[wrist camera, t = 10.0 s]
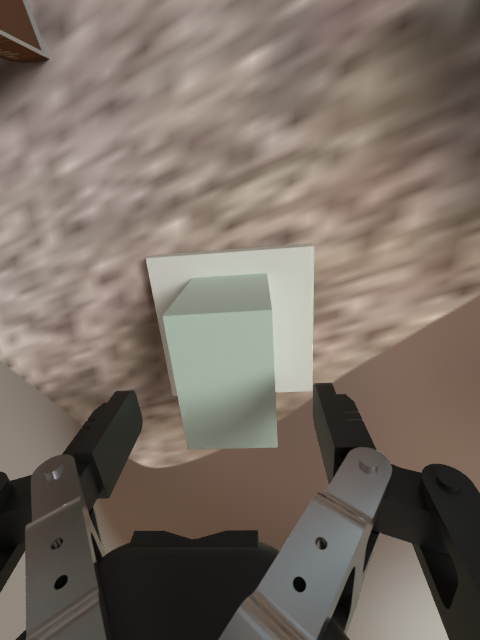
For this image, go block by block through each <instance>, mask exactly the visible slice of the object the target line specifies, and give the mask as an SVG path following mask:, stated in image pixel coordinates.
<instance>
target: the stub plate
mask: <svg viewBox="0 0 480 640" xmlns="http://www.w3.org/2000/svg"><path fill="white" fill-rule="evenodd" d="M146 263H147V268H148V273H149V278H150V283H151V288H152V293H153V298H154V303H155V308H156V314H157V319H158V324H159V329H160V334H161V339H162V344H163V349H164V354H165V359H166V364H167V369H168V374H169V379H170V385H171V390H172V395H173V396H177V390H176V385H175V380H174V375H173V369H172V364H171V359H170V353H169V348H168V343H167V338H166V332H165V327H164V322H163V315H164V313H165V312H166V311H167V310H168V308H169V307H170V306H171V305H172V303H173V302H174V301H175V300H176V298H177V297H178V296H179V294H180V293H181V292H182V291H183V289H184V288H185V287H186V286H187V284H188V283H189V282H190V280H191V279H192V278H199V277H214V276H229V275H244V274H260V273H267V277H268V284H269V291H270V299H271V306H272V321H273V345H274V369H275V392H298V391H312V371H313V297H314V246H313V245H312V244H311V243H310V244H296V245H282V246H268V247H255V248H241V249H227V250H213V251H200V252H186V253H172V254H158V255H151V256H149V257H147V258H146Z"/></svg>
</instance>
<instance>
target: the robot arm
mask: <svg viewBox="0 0 480 640" xmlns="http://www.w3.org/2000/svg"><path fill="white" fill-rule="evenodd" d="M313 420H314V426H315V430H316V434H317V438H318V442H319V446H320V450H321V454H322V458H323V462H324V466H325V470H326V474H327V478H328V482H329V486H328V488H327V489H326V491H325V492H324V494H321V493H317V494H316V495H315V496H314V498H313V499H312V501H311V502H310V504H309V506H308V507H307V509H306V510H305V512H304V514H303V515H302V517H301V518H300V520H299V522H298V523H297V525H296V526H295V528H294V530H293V531H292V533H291V535H290V536H289V538H288V539H287V541H286V542H285V544H284V546H283V547H282V549H281V550H280V551H278V550H277V549H275V548H274V547H272V546H270V545H267V544H265V543H262V542H259V539H258V531H256V530H254V531H252V530H251V531H249V530H247V531H245V530H244V531H223V532H220V533H217V534H213V535H209V536H206V537H202V538H199V539H189V538H186V537H182V536H179V535H176V534H173V533H169V532H166V531H134V534H133V536H132V539H131V542H130V543H128V544H125V545H122V546H120V547H118V548H116V549H114V550H112V551H111V552H109V553H108V554H106V552H105V548H104V544H103V540H102V536H101V532H100V528H99V524H98V520H97V516H96V512H95V509H94V506H93V505H94V503H95V502H96V500H97V498H109V497H110V495H111V493H112V490H113V488H114V486H115V484H116V482H117V480H118V478H119V476H120V474H121V472H122V469H123V468H124V465H125V463H126V461H127V459H128V457H129V455H130V453H131V451H132V449H133V447H134V445H135V442H136V440H137V438H138V436H139V434H140V432H141V429H142V415H141V411H140V407H139V404H138V400H137V396H136V393H135V391H133V390H130V391H116V392H115V393H114V394H113V396H112V397H111V398H110V400H109V401H108V403H103V404H102V405H101V406H100V407H98V408H97V409H96V410H94V412H93V413H92V414H91V416H90V417H89V418H88V421H86V422H85V424H84V425H83V427H82V429H80V431H79V432H78V434H77V435H76V436H75V437H74V439H73V440H72V442H71V443H70V444H69V446H68V447H67V449H66V450H65V451H64V453H63V454H62V455H58V456H55V457H52V458H50V459H48V460H47V461H45V462H44V463H42V464H41V465H40V466H39V467H38V468H37V469H36V470H35V471H34V473H33V474H32V475H30V476H27V477H23V478H19V479H16V480H12V481H10V480H9V479H8V477H7V475H6V474H5V473H4V472H0V592H1V591H2V589H3V587H4V585H5V584H6V582H7V580H8V579H9V577H10V575H11V573H12V572H13V570H14V568H15V567H16V565H17V563H18V562H19V560H20V558H21V557H22V555H23V553H24V551H25V553H26V556H25V557H26V630H25V631H24V632H23V633H22V634H21V635H20V636H19V637H18V638H17V639H16V640H349V638H348V637H347V636H346V633H347V630H348V628H349V625H350V622H351V620H352V617H353V614H354V611H355V608H356V605H357V602H358V599H359V595H360V591H361V587H362V584H363V581H364V578H365V575H366V573H367V570H368V567H369V565H370V562H371V560H372V557H373V554H374V551H375V549H376V546H377V544H378V541H379V538H380V535H381V533H382V534H386V535H388V536H391V537H395V538H398V539H401V540H404V541H407V542H410V543H412V544H413V547H414V550H415V552H416V555H417V557H418V560H419V562H420V565H421V568H422V570H423V573H424V575H425V578H426V581H427V583H428V586H429V588H430V591H431V593H432V596H433V599H434V601H435V604H436V607H437V609H438V612H439V614H440V617H441V620H442V622H443V625H444V627H445V630H446V632H447V635H448V638H449V640H480V493H479V492H478V490H477V488H476V487H475V486H474V484H473V483H472V481H471V480H470V479H469V478H468V477H467V476H466V475H464V474H463V473H462V472H460V471H458V470H456V469H455V468H452V467H450V466H447V465H442V464H430V465H428V466H426V467H425V468H424V469H423V470H422V473H420V472H416V471H412V470H407V469H403V468H400V467H397V466H395V465H393V464H391V463H390V461H389V460H388V459H387V458H386V457H385V456H384V455H383V454H382V453H380V452H379V451H377V450H376V448H375V446H374V444H373V441H372V439H371V437H370V435H369V433H368V431H367V428H366V426H365V424H364V422H363V421H362V418H361V416H360V413H359V412H358V409H357V407H356V405H355V403H354V401H353V400H351V399H350V398H349V397H348V396H347V395H346V394H337V395H336V392H335V390H334V387H333V385H332V383H314V385H313Z"/></svg>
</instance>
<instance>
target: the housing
mask: <svg viewBox="0 0 480 640" xmlns="http://www.w3.org/2000/svg"><path fill="white" fill-rule="evenodd" d="M163 322H164V327H165V332H166V338H167V343H168V348H169V353H170V359H171V364H172V369H173V375H174V380H175V385H176V390H177V396H178V401H179V406H180V411H181V417H182V422H183V427H184V433H185V438H186V443H187V448H188V449H221V448H268V447H278V442H277V418H276V393H275V369H274V345H273V321H272V306H271V299H270V291H269V284H268V277H267V273H260V274H244V275H229V276H214V277H199V278H192V279H191V280H190V282H189V283H188V284H187V286H186V287H185V288H184V289H183V291H182V292H181V293H180V294H179V296H178V297H177V298H176V300H175V301H174V302H173V303H172V305H171V306H170V307H169V308H168V310H167V311H166V312H165V313H164V315H163Z"/></svg>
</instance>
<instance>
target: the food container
mask: <svg viewBox="0 0 480 640" xmlns="http://www.w3.org/2000/svg"><path fill="white" fill-rule="evenodd" d="M0 57H1V58H4V59H7V60H10V61H16V62H22V63H29V62H39V61H43V60H47V59H49V57H48V54H47V52H46V49H45V46H44V43H43V41H42V38H41V35H40V33H39V30H38V27H37V25H36V22H35V19H34V17H33V14H32V11H31V9H30V6H29V3H28V1H27V0H0Z"/></svg>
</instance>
